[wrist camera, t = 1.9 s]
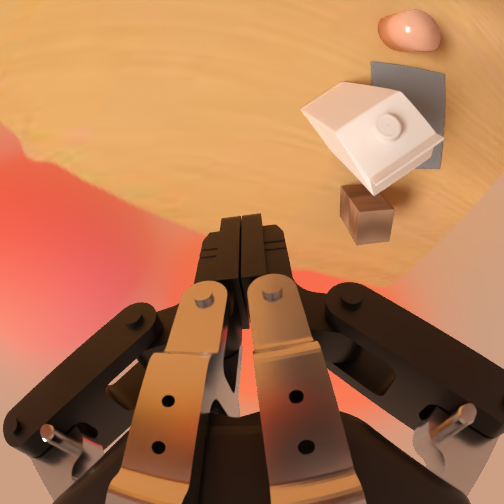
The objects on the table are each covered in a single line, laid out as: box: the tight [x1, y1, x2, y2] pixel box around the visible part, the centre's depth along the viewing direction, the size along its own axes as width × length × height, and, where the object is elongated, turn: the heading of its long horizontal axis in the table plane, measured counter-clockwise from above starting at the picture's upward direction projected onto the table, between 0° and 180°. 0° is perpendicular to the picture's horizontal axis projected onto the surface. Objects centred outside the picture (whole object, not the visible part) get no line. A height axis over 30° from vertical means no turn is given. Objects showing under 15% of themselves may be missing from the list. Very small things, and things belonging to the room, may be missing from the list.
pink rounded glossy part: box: [378, 9, 441, 51], centre depth 20 cm, size 6×6×7 cm
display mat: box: [371, 62, 445, 169], centre depth 31 cm, size 16×13×1 cm
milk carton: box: [301, 82, 444, 196], centre depth 24 cm, size 7×7×19 cm
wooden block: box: [340, 185, 394, 245], centre depth 36 cm, size 5×5×8 cm
